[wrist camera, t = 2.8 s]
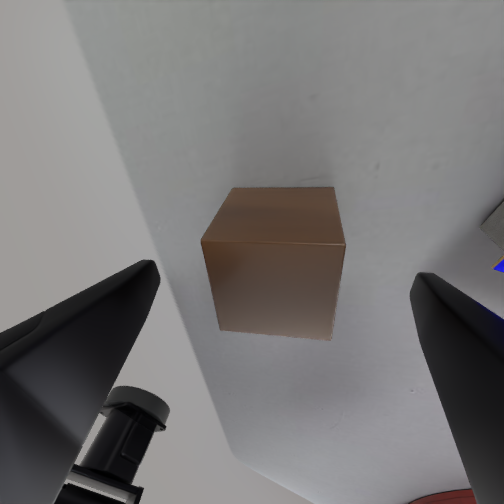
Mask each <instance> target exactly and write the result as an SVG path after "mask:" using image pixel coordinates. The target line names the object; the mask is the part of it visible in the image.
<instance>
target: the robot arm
mask: <svg viewBox="0 0 504 504" xmlns="http://www.w3.org/2000/svg"><path fill="white" fill-rule="evenodd" d="M159 285H160V275H159V272H158V269H157V266H156V264H155V262H154V261H153V260H141V261H139V262H137V263H135V264H133V265H131V266H129V267H127V268H126V269H124V270H122V271H120V272H118V273H116V274H114V275H112V276H110V277H108V278H106V279H105V280H103V281H101V282H99V283H97V284H95V285H93V286H91V287H89V288H87V289H85V290H84V291H81V292H80V293H78V294H76V295H74V296H72V297H70V298H68V299H66V300H64V301H62V302H60V303H58V304H57V305H55V306H53V307H51V308H49V309H47V310H46V311H43V312H41V313H39V314H37V315H36V316H34V317H31V318H30V319H28V320H26V321H24V322H22V323H20V324H18V325H16V326H14V327H12V328H10V329H7V330H6V331H3V332H1V333H0V504H139V502H140V499H141V496H142V493H143V490H144V488H142V487H137V486H134V485H131V484H132V482H133V480H134V477H135V475H136V473H137V470H138V468H139V465H140V464H141V463H142V460H143V458H144V456H145V453H146V451H147V449H148V446H149V444H150V441H151V439H152V437H153V434H154V432H161V431H165V430H166V425H164V424H163V423H161V422H160V421H158V420H157V419H155V418H154V417H152V416H151V415H149V414H148V413H146V412H145V411H144V410H142V409H141V408H139V407H138V406H136V405H135V404H133V403H131V402H124V403H119V404H114V405H109V406H105V407H102V406H103V404H104V402H105V400H106V398H107V396H108V394H109V392H110V390H111V388H112V386H113V384H114V382H115V381H116V379H117V377H118V374H119V373H120V370H121V368H122V367H123V365H124V363H125V361H126V359H127V356H128V354H129V353H130V351H131V349H132V347H133V345H134V343H135V341H136V338H137V336H138V335H139V333H140V331H141V329H142V327H143V325H144V323H145V321H146V318H147V316H148V314H149V311H150V309H151V306H152V303H153V300H154V298H155V295H156V292H157V290H158V287H159ZM410 301H411V306H412V310H413V315H414V319H415V324H416V328H417V333H418V337H419V341H420V344H421V347H422V350H423V353H424V356H425V359H426V362H427V364H428V367H429V370H430V373H431V376H432V378H433V381H434V384H435V387H436V390H437V392H438V395H439V398H440V401H441V404H442V406H443V409H444V412H445V415H446V418H447V421H448V423H449V426H450V429H451V432H452V435H453V437H454V440H455V443H456V446H457V449H458V451H459V454H460V457H461V460H462V463H463V465H464V468H465V471H466V474H467V477H468V479H469V482H470V485H471V488H472V491H473V494H474V496H475V499H476V502H477V504H504V319H502V318H501V317H499V316H498V315H496V314H495V313H493V312H492V311H490V310H489V309H487V308H486V307H484V306H483V305H481V304H480V303H478V302H477V301H475V300H474V299H472V298H471V297H469V296H467V295H466V294H464V293H463V292H461V291H460V290H458V289H457V288H455V287H454V286H452V285H451V284H449V283H448V282H446V281H445V280H443V279H442V278H440V277H439V276H437V275H436V274H434V273H424V272H420V273H418V274H417V275H416V277H415V280H414V283H413V285H412V288H411V291H410ZM99 413H101V414H102V415H104V416H105V417H107V418H106V420H105V422H104V423H103V425H102V427H101V429H100V430H99V432H98V434H97V436H96V437H95V439H94V441H93V443H92V444H91V446H90V448H89V450H88V451H87V453H86V455H85V457H84V459H83V460H82V462H81V464H80V466H79V465H76V464H74V462H75V461H76V459H77V457H78V454H79V453H80V451H81V448H82V445H83V444H84V442H85V440H86V438H87V436H88V434H89V432H90V430H91V428H92V426H93V424H94V422H95V420H96V418H97V416H98V414H99ZM66 479H69V480H72V481H75V482H78V483H81V484H83V485H87V486H89V487H92V488H95V489H97V490H100V491H103V492H106V493H109V494H112V495H114V496H117V497H120V498H123V499H126V500H127V501H126V503H124V502H121V501H118V500H115V499H113V498H110V497H107V496H104V495H101V494H99V493H96V492H93V491H90V490H87V489H84V488H81V487H78V486H76V485H73V484H70V483H68V484H64V482H65V480H66Z"/></svg>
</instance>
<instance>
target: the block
mask: <svg viewBox="0 0 504 504" xmlns="http://www.w3.org/2000/svg"><path fill="white" fill-rule="evenodd" d="M201 245H202V250H203V254H204V259H205V263H206V268H207V272H208V277H209V282H210V286H211V291H212V295H213V300H214V304H215V309H216V314H217V318H218V323H219V327H220V330H221V331H231V332H241V333H252V334H262V335H273V336H283V337H294V338H304V339H315V340H325V341H331V339H332V333H333V327H334V320H335V314H336V307H337V301H338V294H339V288H340V281H341V274H342V268H343V261H344V255H345V248H346V243H345V238H344V233H343V228H342V224H341V219H340V214H339V209H338V205H337V200H336V195H335V190H334V188H333V187H294V188H232V189H231V191H230V193H229V194H228V196H227V198H226V199H225V201H224V202H223V204H222V206H221V207H220V209H219V211H218V212H217V214H216V216H215V217H214V219H213V220H212V222H211V224H210V225H209V227H208V229H207V230H206V232H205V234H204V235H203V237H202V239H201Z"/></svg>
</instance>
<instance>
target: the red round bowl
mask: <svg viewBox="0 0 504 504" xmlns="http://www.w3.org/2000/svg"><path fill="white" fill-rule="evenodd" d="M409 504H477V502H476V499H475V496H474V494H473V491H472V489H468V490H458V491H451V492H445V493H439V494H435V495H430V496H427V497H424V498H421V499H418V500H415V501H413V502H411V503H409Z"/></svg>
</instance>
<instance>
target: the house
mask: <svg viewBox="0 0 504 504" xmlns="http://www.w3.org/2000/svg"><path fill="white" fill-rule="evenodd" d="M479 228H480V229H481V230H482V231H483V232H485V233H486V234H487V235H488V236H489V237H490V238H491V239H492V240H493V241H494V242H495V243H496V244H497V245H498V246H499V247H500V248H501V249H502V250H503V251H504V202H503V203H502V204H501V205H500V206H499V207H498V208H497V209H496V210H495V211H494V212H493V213H492V214H491V215H490V217H489V218H488V219H487V220H486V221H485V222H484V223H483V224H482V225H481V226H480V227H479ZM492 268H493V269H494V270H498V271H501V272H504V256H502V257H501V258H500V259H499V260H498V261H497V262H496V263H495V264H494V265H493V266H492Z"/></svg>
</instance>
